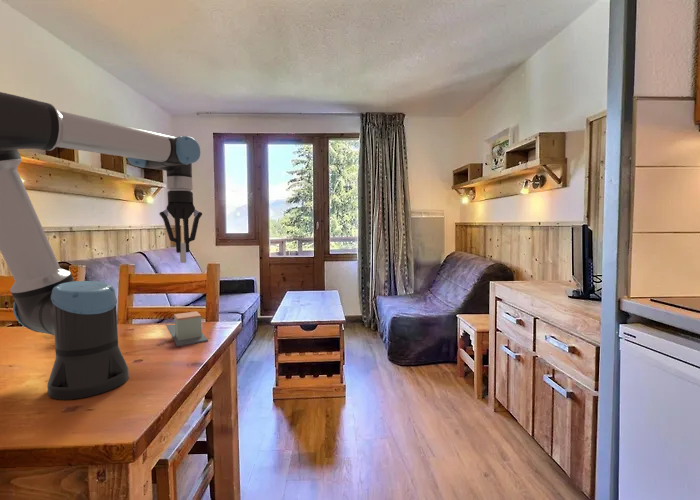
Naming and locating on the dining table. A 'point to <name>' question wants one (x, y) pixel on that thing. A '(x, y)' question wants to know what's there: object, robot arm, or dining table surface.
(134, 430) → the dining table surface
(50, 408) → the dining table surface
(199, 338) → the mat
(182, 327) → the block
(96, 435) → the dining table surface
